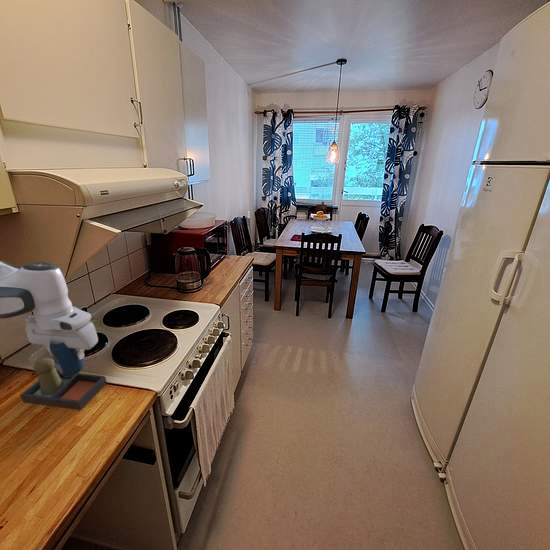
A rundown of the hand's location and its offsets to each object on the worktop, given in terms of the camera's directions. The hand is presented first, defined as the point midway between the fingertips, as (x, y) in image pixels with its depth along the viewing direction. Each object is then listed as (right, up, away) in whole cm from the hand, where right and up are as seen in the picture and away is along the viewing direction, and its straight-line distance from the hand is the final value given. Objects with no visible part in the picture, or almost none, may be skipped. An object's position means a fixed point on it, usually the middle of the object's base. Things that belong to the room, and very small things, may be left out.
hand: (68, 356), depth 86 cm
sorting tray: (-5, -13, +6) cm, 16 cm away
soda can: (0, -5, +2) cm, 5 cm away
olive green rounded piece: (-10, -13, +7) cm, 17 cm away
